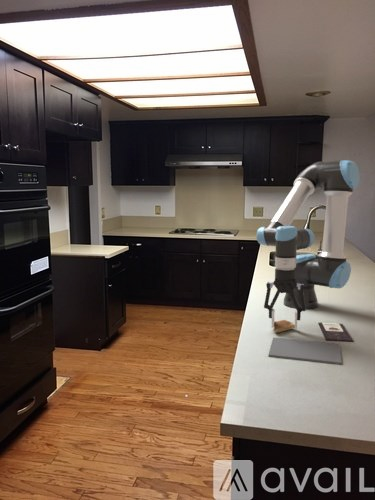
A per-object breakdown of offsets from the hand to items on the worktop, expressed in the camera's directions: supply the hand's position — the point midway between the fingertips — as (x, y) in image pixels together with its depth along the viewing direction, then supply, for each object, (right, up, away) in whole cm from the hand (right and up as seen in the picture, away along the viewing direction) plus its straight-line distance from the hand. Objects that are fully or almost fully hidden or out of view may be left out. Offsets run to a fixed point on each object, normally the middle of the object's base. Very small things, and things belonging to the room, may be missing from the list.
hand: (284, 327), depth 154 cm
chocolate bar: (+18, -2, -2) cm, 18 cm away
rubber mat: (+2, -4, -19) cm, 20 cm away
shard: (0, -1, 0) cm, 1 cm away
